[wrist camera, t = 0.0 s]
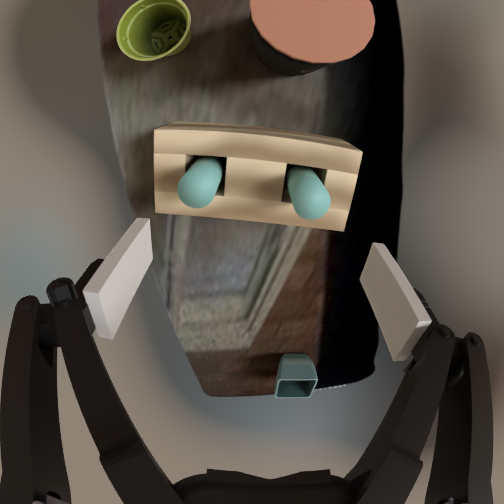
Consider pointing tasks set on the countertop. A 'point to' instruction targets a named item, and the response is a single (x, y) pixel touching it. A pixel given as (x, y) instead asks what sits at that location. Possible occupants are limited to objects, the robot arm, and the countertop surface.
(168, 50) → the plant pot
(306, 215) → the peg
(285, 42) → the coffee jar
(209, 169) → the peg
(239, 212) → the socket block
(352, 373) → the countertop surface
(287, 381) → the flower pot
